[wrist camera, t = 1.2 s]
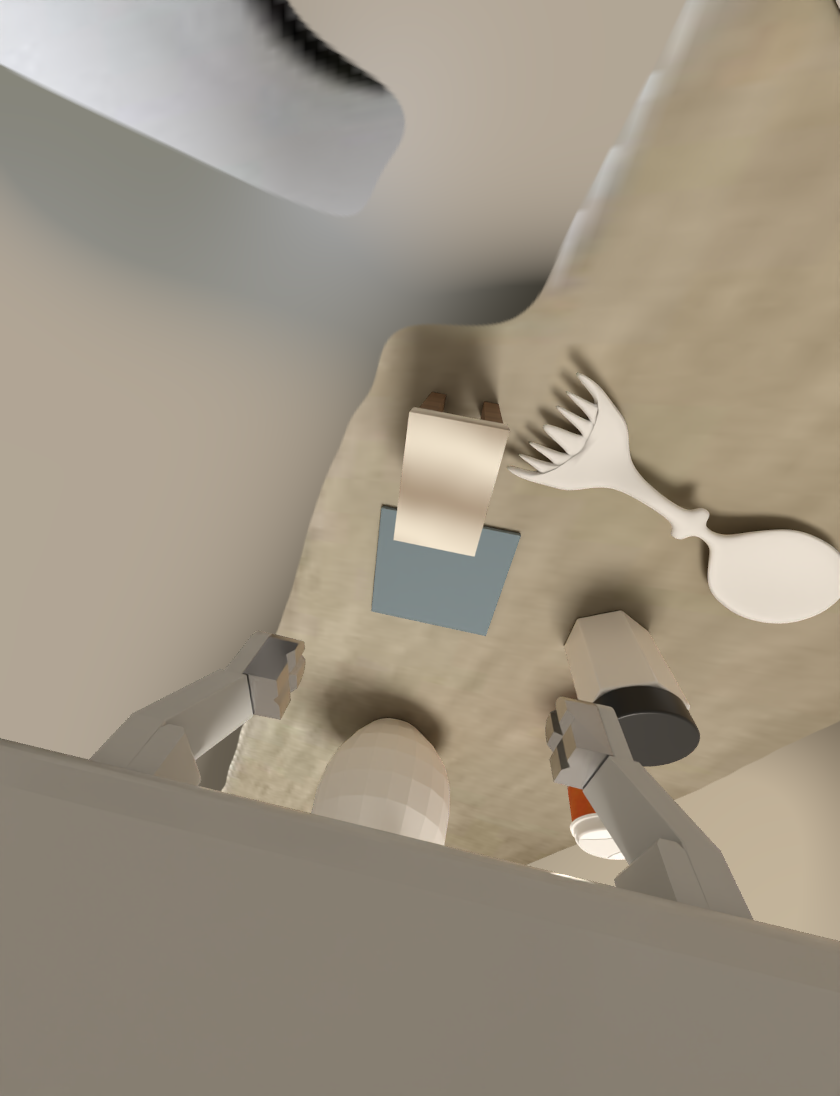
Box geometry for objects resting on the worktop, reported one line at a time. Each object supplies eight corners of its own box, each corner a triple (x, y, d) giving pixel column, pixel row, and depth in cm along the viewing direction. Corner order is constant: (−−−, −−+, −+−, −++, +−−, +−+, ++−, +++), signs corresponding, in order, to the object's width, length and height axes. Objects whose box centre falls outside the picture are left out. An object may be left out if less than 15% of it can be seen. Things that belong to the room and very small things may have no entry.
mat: (382, 505, 36) (381, 507, 35) (520, 533, 35) (520, 535, 35) (372, 608, 43) (371, 611, 43) (485, 632, 42) (485, 635, 42)
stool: (430, 388, 29) (409, 411, 21) (501, 402, 29) (509, 430, 21) (415, 488, 34) (393, 540, 26) (476, 500, 34) (474, 556, 25)
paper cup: (589, 694, 45) (627, 821, 33) (622, 724, 47) (670, 855, 36) (538, 715, 49) (556, 837, 37) (571, 742, 51) (598, 866, 39)
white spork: (572, 363, 27) (583, 367, 24) (854, 563, 32) (891, 586, 29) (501, 460, 32) (503, 473, 29) (756, 622, 37) (780, 647, 34)
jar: (571, 668, 43) (598, 771, 33) (555, 620, 40) (581, 718, 30) (652, 656, 41) (709, 764, 30) (643, 603, 37) (705, 705, 27)
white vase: (415, 779, 63) (382, 1004, 42) (324, 735, 60) (238, 955, 39) (478, 736, 53) (476, 999, 32) (373, 681, 50) (295, 932, 29)
